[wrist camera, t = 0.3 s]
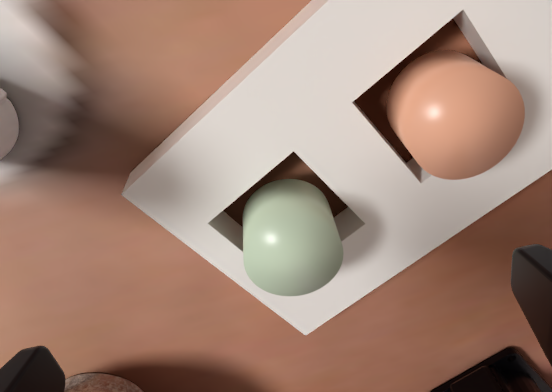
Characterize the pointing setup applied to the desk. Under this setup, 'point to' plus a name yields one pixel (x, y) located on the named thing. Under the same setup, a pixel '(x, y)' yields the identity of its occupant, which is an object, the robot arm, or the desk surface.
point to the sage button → (290, 238)
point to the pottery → (99, 383)
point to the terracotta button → (454, 114)
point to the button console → (346, 141)
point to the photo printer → (7, 125)
